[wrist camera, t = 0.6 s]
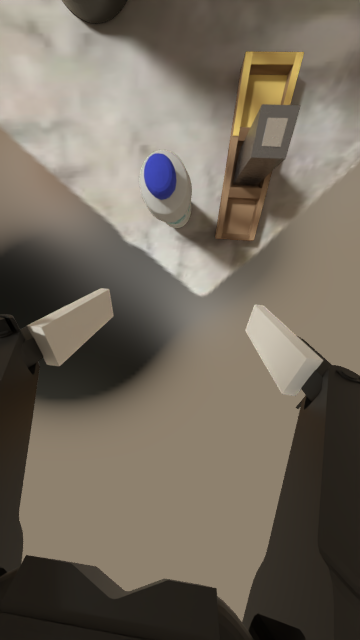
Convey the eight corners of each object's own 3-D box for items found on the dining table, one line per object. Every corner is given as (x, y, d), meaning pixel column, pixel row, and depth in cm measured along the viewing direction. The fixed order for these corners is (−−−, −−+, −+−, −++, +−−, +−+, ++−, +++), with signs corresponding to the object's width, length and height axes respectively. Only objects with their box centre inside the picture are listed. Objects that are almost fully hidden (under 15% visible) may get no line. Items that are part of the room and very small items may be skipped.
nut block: (238, 151, 26) (262, 103, 17) (263, 152, 26) (301, 104, 17) (232, 184, 28) (251, 157, 19) (256, 185, 28) (285, 158, 19)
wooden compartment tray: (240, 71, 23) (245, 51, 20) (292, 71, 22) (304, 52, 20) (214, 238, 33) (216, 237, 31) (249, 240, 33) (253, 240, 31)
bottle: (197, 202, 31) (203, 146, 13) (184, 235, 34) (173, 225, 16) (169, 185, 30) (134, 100, 12) (157, 221, 33) (116, 193, 15)
